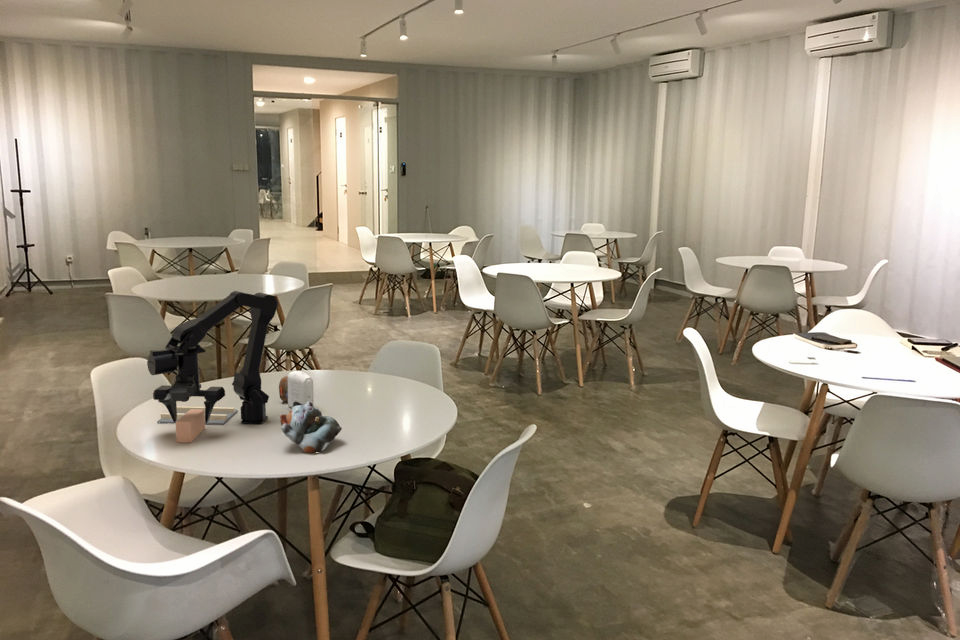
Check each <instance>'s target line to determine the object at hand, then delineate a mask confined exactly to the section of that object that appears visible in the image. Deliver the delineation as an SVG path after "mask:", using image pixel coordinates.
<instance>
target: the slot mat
mask: <svg viewBox="0 0 960 640" xmlns="http://www.w3.org/2000/svg"><path fill="white" fill-rule="evenodd" d="M190 409H204V417H205V406H178V405H177V420H176V421H178V420H179V419H180V418H181V417H182V416H183V415H184V414H186V413H187V412H188V411H189V410H190ZM238 412H239V411H238V409H236V408H235V407H223V406H222V407H220V406H219V407H215V406H214V407H213V410H212V412H211V415H210V418H209V421H208V422H207V423H206V422H205V425H209V424H210V425H211V426H213V425H214V426H215V425H216V426H224V425H225V424H226V423H227V422H228V421H229V420H230V419H232V418H233V417H234V416H235V415H236V414H237V413H238ZM159 422H160V423H159ZM168 423H176V422H174V421H173V419H172V417H171V415H170V413H169V412H161V413H160V419H159V420H157V424H168Z"/></svg>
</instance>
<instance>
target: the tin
mask: <svg viewBox="0 0 960 640" xmlns="http://www.w3.org/2000/svg"><path fill="white" fill-rule="evenodd" d="M288 375H289V373H288V374H286V375H285V376H283V377H282V378H281V379H280V381H279V382H278V383H279V384H278V392H279V393H278V395H279V398H280V400H281V401H282V402H288Z"/></svg>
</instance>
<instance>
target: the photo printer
mask: <svg viewBox="0 0 960 640" xmlns="http://www.w3.org/2000/svg"><path fill="white" fill-rule="evenodd" d="M288 374H289V375H288ZM288 374H287V375H288V401H287V407H289V408H291V409H292V406H293V402H299V403H301V404H303V405H305V404H306V403H307V402H309V401H310V402H311V403H312V404H313V405H314V380H313V378H312V376H310V375H309V374H307V373H306V372H304V371H301V370H300V371H299V370H295V371H291V372H290V371H289V373H288Z"/></svg>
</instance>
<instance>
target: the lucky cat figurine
mask: <svg viewBox="0 0 960 640" xmlns="http://www.w3.org/2000/svg"><path fill="white" fill-rule="evenodd" d="M279 418H280V428H281V432H282V433H283V434H284V435H285V437H286V438H288V439H289V440H290V441H291V442H293V443H295V445H297V446H299V448H301V449H302V451H303V452H304V453H306V454H308V453H309V454H317V453H316V452H320V453H321V452H323V451H324V450H325V449H327V448H328V447H329V446H330V444H331V442H332V441H333V440H334V439H335V438H336V437H337V436H338V435H339V433H341V431H342V429H343V428H342V426H341V425H340V424H339V422H338V421H337V420H336V419H335V418H333V417H332V416H326V415H323V413H322V412H321V411H320V409H319V408H317V407H315V406H314V403H313V404H312V403H311V402H310V401H309V402H307V403H306V404H305V405H303V404H301V403H299V402H293V406H292V408H291V409H290V410H289V411H288V413H287V414H281V415H279Z"/></svg>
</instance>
